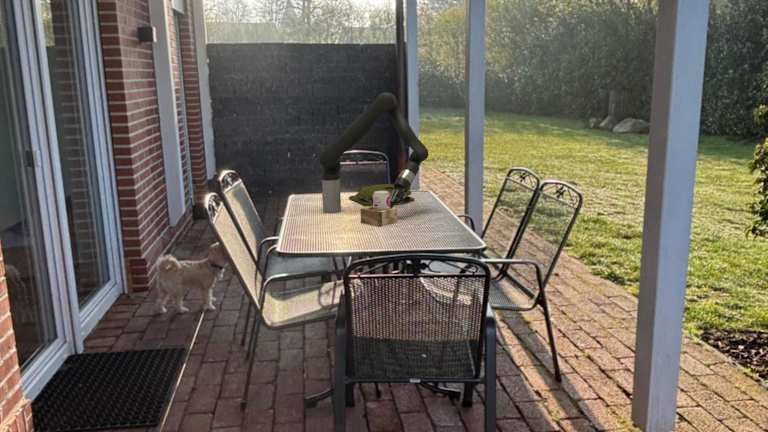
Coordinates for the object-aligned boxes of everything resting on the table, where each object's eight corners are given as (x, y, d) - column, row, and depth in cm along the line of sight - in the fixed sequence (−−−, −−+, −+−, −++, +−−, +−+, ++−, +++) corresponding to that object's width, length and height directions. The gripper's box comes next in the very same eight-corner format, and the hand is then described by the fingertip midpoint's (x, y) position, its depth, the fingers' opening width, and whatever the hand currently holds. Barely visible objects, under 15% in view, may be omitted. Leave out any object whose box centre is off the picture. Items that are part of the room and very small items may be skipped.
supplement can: (392, 220, 320) (391, 190, 317) (388, 224, 313) (387, 193, 310) (376, 220, 323) (375, 190, 320) (371, 223, 315) (370, 193, 312)
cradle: (378, 219, 325) (377, 205, 324) (397, 222, 316) (396, 208, 315) (361, 223, 318) (360, 208, 316) (380, 226, 308) (379, 212, 307)
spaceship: (347, 199, 385) (346, 183, 383) (395, 194, 396) (395, 178, 394) (369, 209, 353) (368, 191, 351) (420, 203, 365) (420, 186, 363)
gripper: (391, 175, 328) (374, 203, 322) (410, 177, 319) (393, 206, 313) (398, 184, 333) (382, 211, 327) (418, 186, 323) (401, 214, 317)
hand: (388, 208), depth 320 cm, fingers closed
